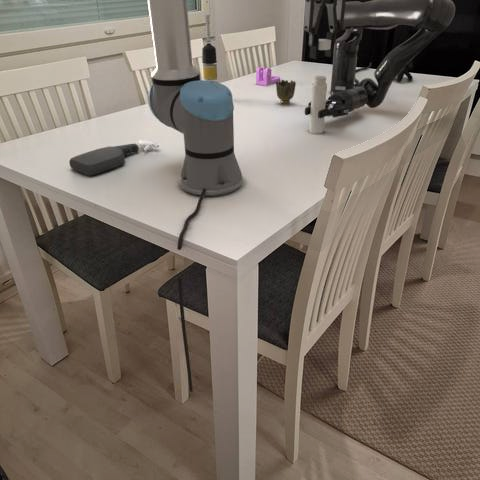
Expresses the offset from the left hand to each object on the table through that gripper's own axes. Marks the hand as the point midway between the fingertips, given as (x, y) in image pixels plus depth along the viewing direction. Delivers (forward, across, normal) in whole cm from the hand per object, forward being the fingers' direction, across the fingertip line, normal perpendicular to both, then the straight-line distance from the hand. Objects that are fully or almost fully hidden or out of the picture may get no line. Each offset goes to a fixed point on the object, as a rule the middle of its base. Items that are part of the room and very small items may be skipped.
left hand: (321, 57), depth 131 cm
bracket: (+22, +24, +66) cm, 74 cm away
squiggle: (+21, +76, +37) cm, 87 cm away
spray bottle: (+23, -61, +10) cm, 66 cm away
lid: (-4, 0, 0) cm, 4 cm away
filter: (+22, -10, +54) cm, 60 cm away
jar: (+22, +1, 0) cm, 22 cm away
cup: (+22, +10, +32) cm, 40 cm away
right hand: (+16, -2, -1) cm, 16 cm away
